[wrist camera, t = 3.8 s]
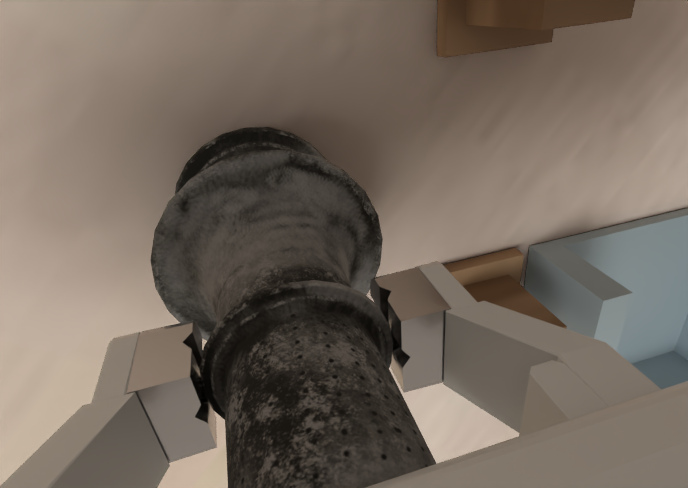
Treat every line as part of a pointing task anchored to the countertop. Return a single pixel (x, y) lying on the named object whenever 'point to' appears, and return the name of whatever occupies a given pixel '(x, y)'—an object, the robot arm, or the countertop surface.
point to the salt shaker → (286, 314)
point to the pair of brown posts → (494, 34)
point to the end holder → (622, 290)
